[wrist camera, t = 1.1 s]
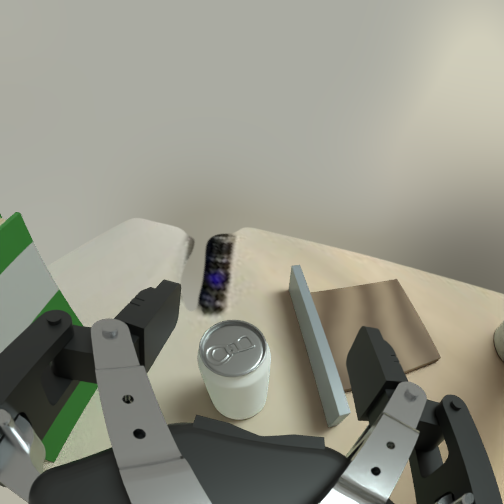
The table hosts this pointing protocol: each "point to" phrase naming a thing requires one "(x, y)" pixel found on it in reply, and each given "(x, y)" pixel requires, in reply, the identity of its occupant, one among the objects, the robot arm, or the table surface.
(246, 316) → the table surface
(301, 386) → the table surface
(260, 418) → the table surface
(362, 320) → the walnut board
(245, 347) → the can
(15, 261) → the hardback book
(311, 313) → the low wall
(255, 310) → the table surface
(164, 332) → the robot arm
